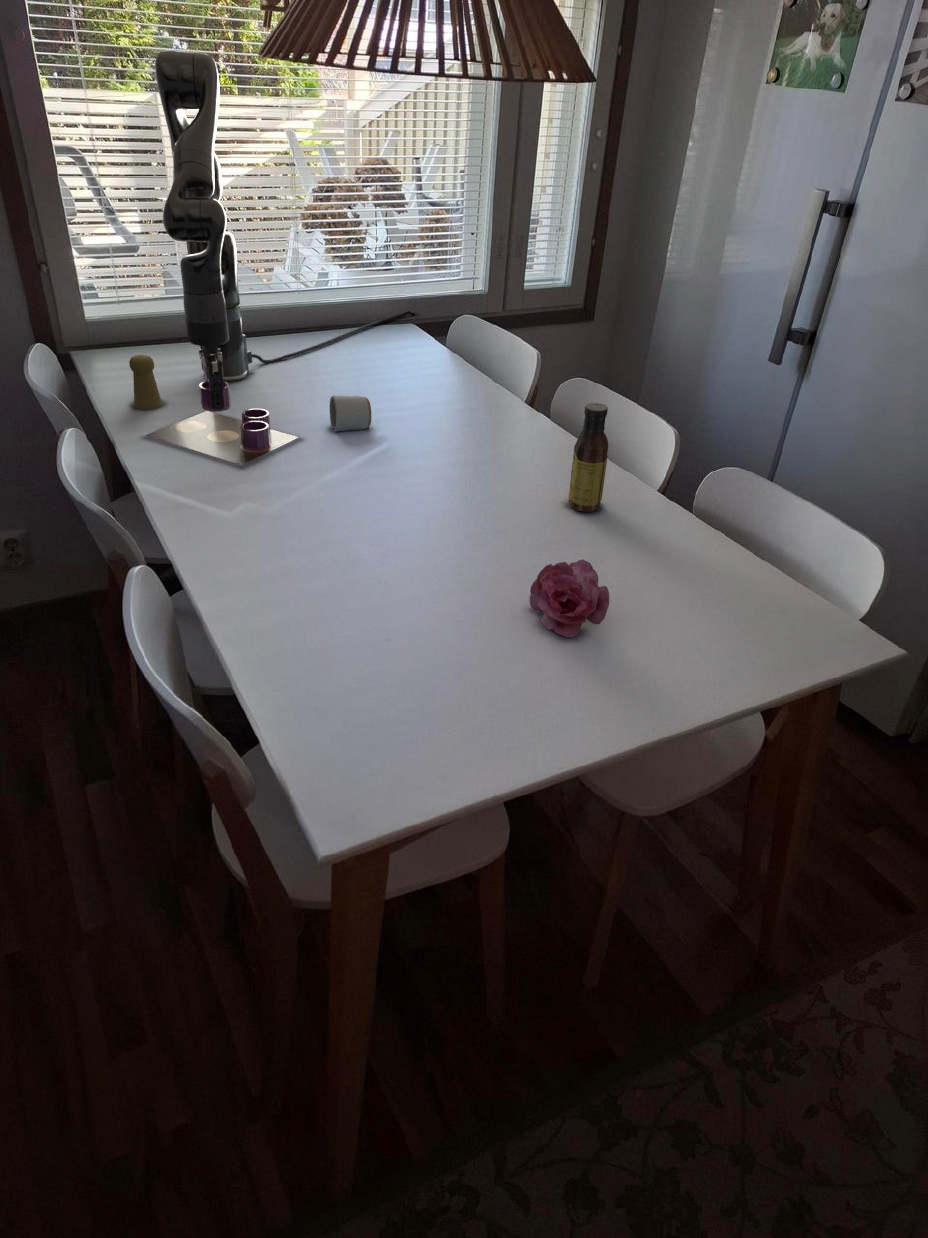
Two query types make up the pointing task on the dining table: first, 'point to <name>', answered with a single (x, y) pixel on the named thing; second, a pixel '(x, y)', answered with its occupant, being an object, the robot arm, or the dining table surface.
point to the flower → (569, 597)
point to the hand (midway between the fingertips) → (215, 402)
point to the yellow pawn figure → (144, 383)
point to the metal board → (216, 437)
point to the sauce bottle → (589, 461)
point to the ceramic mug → (350, 412)
